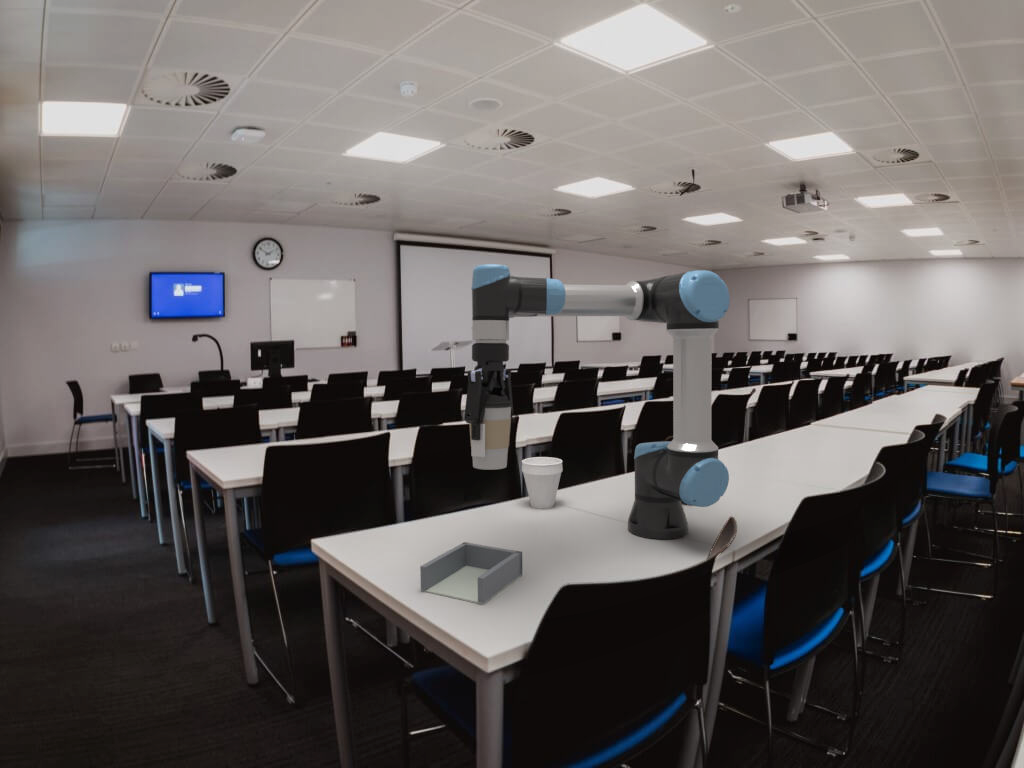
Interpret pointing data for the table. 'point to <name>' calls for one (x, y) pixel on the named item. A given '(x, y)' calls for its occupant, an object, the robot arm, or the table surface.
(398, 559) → the table surface
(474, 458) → the coffee cup
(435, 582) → the u rest
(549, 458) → the cup
